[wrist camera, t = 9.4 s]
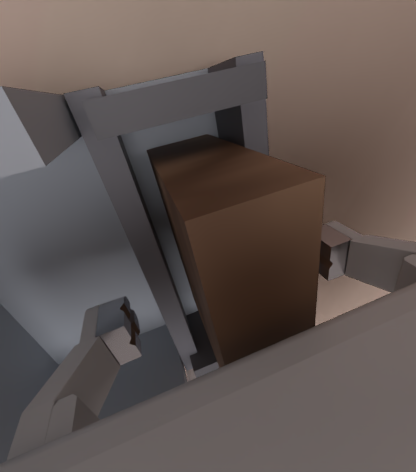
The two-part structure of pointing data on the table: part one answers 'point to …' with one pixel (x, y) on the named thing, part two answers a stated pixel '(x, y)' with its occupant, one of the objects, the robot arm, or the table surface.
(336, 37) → the table surface
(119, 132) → the cabinet
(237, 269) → the brown rectangular block
